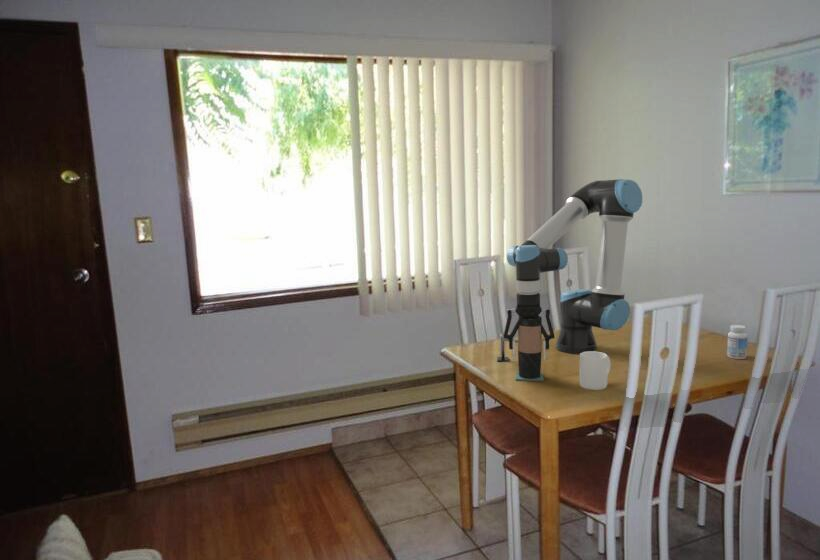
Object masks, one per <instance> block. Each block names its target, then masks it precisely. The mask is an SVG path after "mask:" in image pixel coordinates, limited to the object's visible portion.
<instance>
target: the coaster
mask: <svg viewBox="0 0 820 560" xmlns="http://www.w3.org/2000/svg"><path fill="white" fill-rule="evenodd" d="M543 373H544V372H543V371H541V373H540V377H538V378H532V379H530V378H523V377H520V376H519V371H515V381H524V382H525V381H526V382H527V381H528V382H530V381H531V382H544V380H545V379H544V374H543Z"/></svg>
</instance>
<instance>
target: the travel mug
mask: <svg viewBox="0 0 820 560" xmlns="http://www.w3.org/2000/svg"><path fill="white" fill-rule="evenodd" d="M518 318H520V317H519V316H518ZM538 318H539V319H522V318H521V320H520V325H519V328H518V330H517V332H518V335H517V338H518V339H517V340H518V343H517V356H518V357H517V359H518V361H517V362H518V372H519V376H520V377H523V378H530V379H532V378H538V377H540V373H541V372H542V371H541V370H542V368H541V367H542V351H543V337H542V335H543V334H542V332H541V324H542V321H543V318H542V316H540V315H538ZM542 325H543V324H542Z"/></svg>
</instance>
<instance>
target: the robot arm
mask: <svg viewBox="0 0 820 560" xmlns="http://www.w3.org/2000/svg"><path fill="white" fill-rule="evenodd" d="M642 204H643V192H642V189H641V188H640V186H639V184H638V183H637V182H636V181H635V180H632V179H624V178H621V179H607V180H595V181H591V182H590V183H587V184H586V185H584V186H582V187H581V188H579V189H578V190H576V191H575V192H574V193H572V194H571V196H569V197H568V198H567V199H566V200H565V204H564V205H563V206H562V207H561V208H560V209H559V210H557V212H556V213H554V214H553V215H552V216H551V217H550V218H549V219H548V220H547V221H546V222H545V223H543V224H542V225H541V226H540V228H538V229H537V230H536V231H535V232H534V233H533V234H531V236H529V238H527V239H526V240H525V241H524V242H523V243H522V244H521V245H513V246H511V247H510V248H509V249H508V250H507V253H506V260H507V263H508V265H510V266H512V267H513V268H515V272H516V273H515V274H516V275H515V276H516V278H515V279H516V280H515V281H516V283H515V284H516V286H515V287H516V292H517V293H516V307H515V308H508V309H507V319H506V324H505V327H504V332H503V333H504V338H505V339H508V340H509V342H508V346H509V347H508V348H509V350H512V360H516V343H515V340H516V339H515V338H514V337H515V335H516V334H517V332H518V328H519V325H520V320H521V318H522V319H539V318H538V316H540V314H541V313H542V315H543V316H544V317H545V320H546V323H547V326H548V331H549V333H547V331H546V329H545V328H544V326H543V324H541V332H542V335H543V338H542V360H543V361H546V359H547V358H546V356H547V354H546V350H549V349H550V340H552V339H555V331H554V329H553V326H552V321H551V318H550V314H551V310H550V308H549V307H546V308H542V307H541V293H539V292H540V291H541V283H540V282H541V281H540V280H541V273H547V272H549V273H550V272H557V271H560V270H563V269H565V268H566V267H567V265H568V262H569V260H568V259H569V257H568V256H569V255H568V254H567V251H565V250H564V249H563V248H561V247H552V246H553V245H554V244H555V243H556V242H558V240H559V239H560V238H561V237H563V235H565V234H566V233H567V232H568V231H569V230H570V229H571V228H572V227H574V225H575V224H576V223H578V222H579V220H583V219H586V217H588V216H589V215H591V214H593V213H599V214H598V217H599V218H600V220H601V221H602V225H601V226H602V227H601V234H600V242H599V243H600V244H599V245H600V246H599V254H598V264H597V270H596V272H597V273H596V281H595V287H594V288H592V289H590V288H586V289H585V288H584V289H583V288H582V289H581V288H580V289H573V290H572V289H571V290H566V291H563V292H562V293H560V300H559V307H560V308H559V309H560V329H559V333H558V335H557V339H556V343H555V348H556V350H558V351H559V352H563V353H567V354H580V353H582V352H587V351H597V341H596V339H595V336H594V335H595V334H594V332H593V328H597V329H598V328H600V329H602V330H605V331H606V330H607V331H608V330H609V331H618V330H620V329H621V328H624V326H625V325H626V324H627V321H628V320H629V318H630V314H631V307H630V303H629V302H628V301H627V300H626V299H625V292H623V290H622V289H621V288H622V280H623V272H624V271H623V270H624V260H625V253H626V244H627V243H626V242H627V236H628V235H627V233H628V225H629V222H631V221H632V220H633V219H634V214H635V213H637V212H638V211H639V210H640V208H641V207H642ZM551 247H552V248H551ZM515 313H516V314H517V316H518V318H517V321H516V322H515V323H514V326H513V328H512V330H511V332H510V333H509V331H510V328H511V322H512V317H513V316H514V315H515ZM519 317H520V318H519Z"/></svg>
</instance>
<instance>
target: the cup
mask: <svg viewBox="0 0 820 560" xmlns="http://www.w3.org/2000/svg"><path fill="white" fill-rule="evenodd" d="M610 371H611V359H610V357H609V356H608V355H607V354H606V353H605V352H601V351H597V350H595V351H587V352H582V353H579V385H580V386H581V388H583V389H586V390H591V391H601V390H604V389H606V388H607V387H608V375H609V373H610Z"/></svg>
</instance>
